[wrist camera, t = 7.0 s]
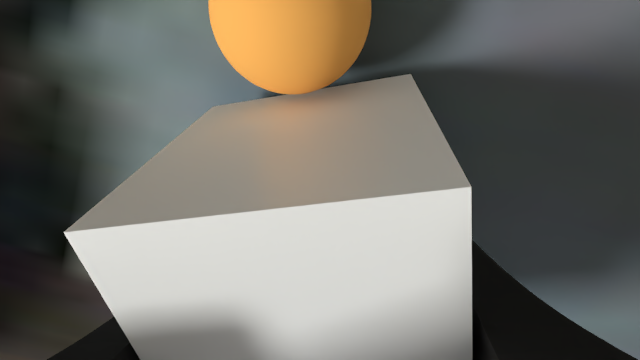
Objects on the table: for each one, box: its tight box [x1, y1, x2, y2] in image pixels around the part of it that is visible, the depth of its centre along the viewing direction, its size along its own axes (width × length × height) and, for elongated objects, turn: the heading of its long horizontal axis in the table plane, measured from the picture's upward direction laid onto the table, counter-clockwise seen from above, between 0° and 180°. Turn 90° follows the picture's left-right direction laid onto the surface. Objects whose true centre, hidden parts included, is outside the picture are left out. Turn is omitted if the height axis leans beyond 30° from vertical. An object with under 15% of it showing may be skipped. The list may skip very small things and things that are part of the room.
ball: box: [208, 0, 371, 94], centre depth 9 cm, size 4×4×4 cm
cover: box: [64, 74, 473, 360], centre depth 10 cm, size 6×9×7 cm, turn 11°
